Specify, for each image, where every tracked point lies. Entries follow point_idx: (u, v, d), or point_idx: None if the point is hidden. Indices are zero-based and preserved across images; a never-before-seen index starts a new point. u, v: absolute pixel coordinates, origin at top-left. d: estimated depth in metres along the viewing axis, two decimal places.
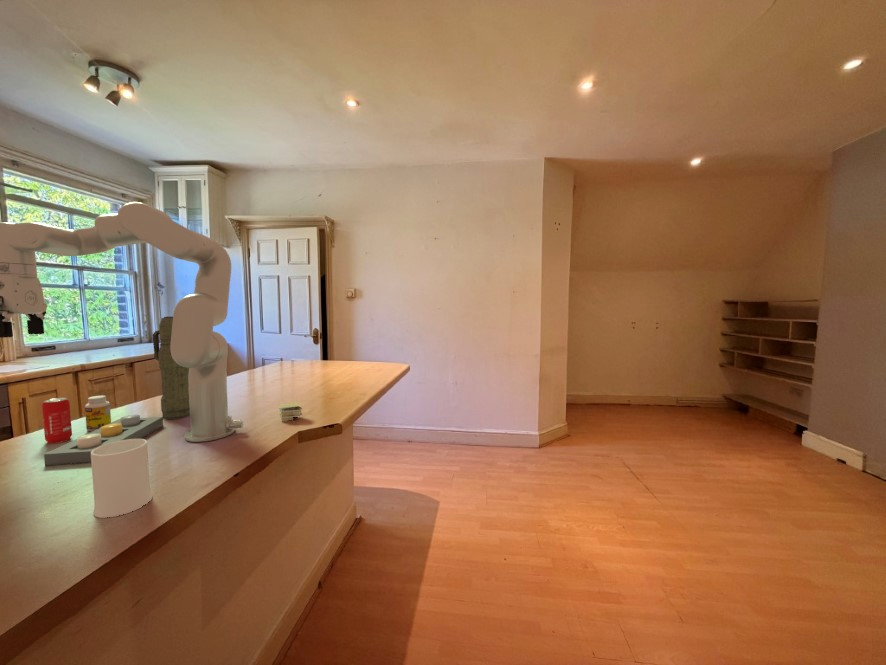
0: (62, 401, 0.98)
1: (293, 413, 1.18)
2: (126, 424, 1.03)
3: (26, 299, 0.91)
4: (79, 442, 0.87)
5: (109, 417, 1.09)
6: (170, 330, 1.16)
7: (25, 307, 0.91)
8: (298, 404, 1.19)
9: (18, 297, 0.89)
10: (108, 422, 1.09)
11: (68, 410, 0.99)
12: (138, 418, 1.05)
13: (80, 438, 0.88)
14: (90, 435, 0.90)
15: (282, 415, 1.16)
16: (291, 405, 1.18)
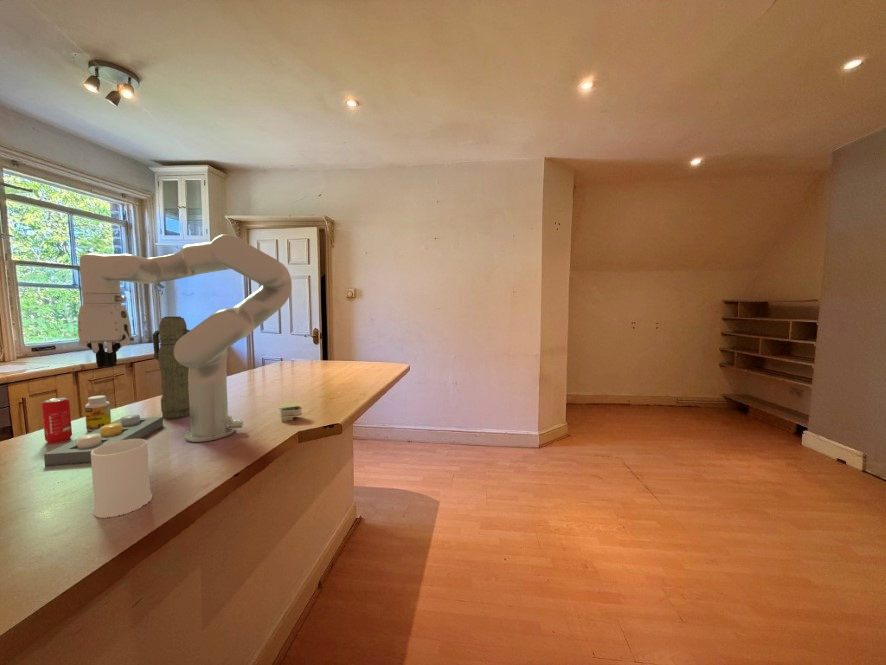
0: (62, 401, 0.98)
1: (293, 413, 1.18)
2: (126, 424, 1.03)
3: None
4: (79, 442, 0.87)
5: (109, 417, 1.09)
6: (170, 330, 1.16)
7: None
8: (298, 404, 1.19)
9: None
10: (108, 422, 1.09)
11: (68, 410, 0.99)
12: (138, 418, 1.05)
13: (80, 438, 0.88)
14: (90, 435, 0.90)
15: (282, 415, 1.17)
16: (291, 405, 1.18)
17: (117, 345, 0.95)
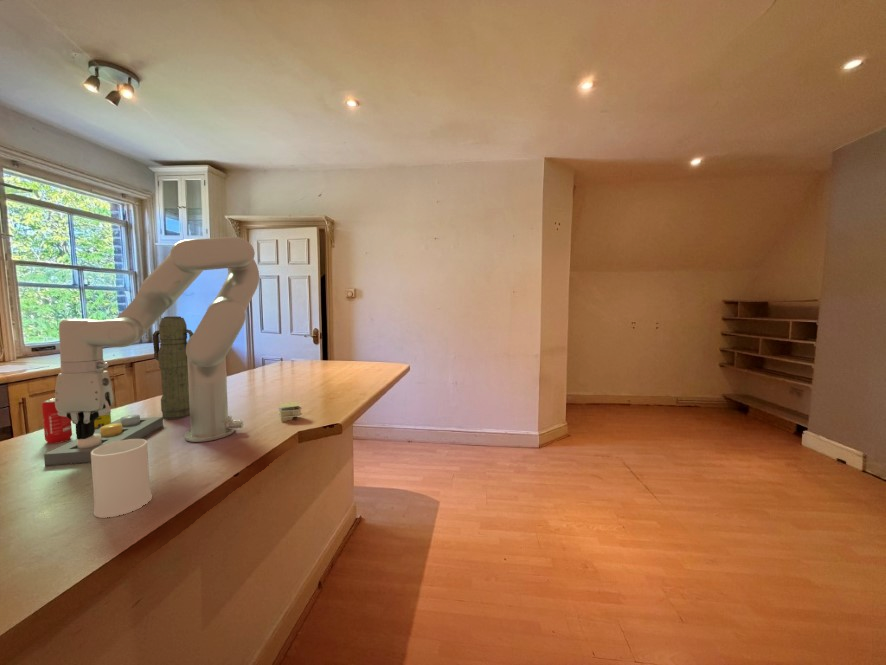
0: None
1: (292, 413, 1.18)
2: (126, 424, 1.03)
3: None
4: (79, 442, 0.87)
5: (109, 417, 1.09)
6: (170, 330, 1.16)
7: None
8: (297, 404, 1.19)
9: None
10: (108, 422, 1.09)
11: None
12: (138, 418, 1.05)
13: None
14: None
15: (281, 415, 1.17)
16: (291, 405, 1.18)
17: (95, 415, 0.88)
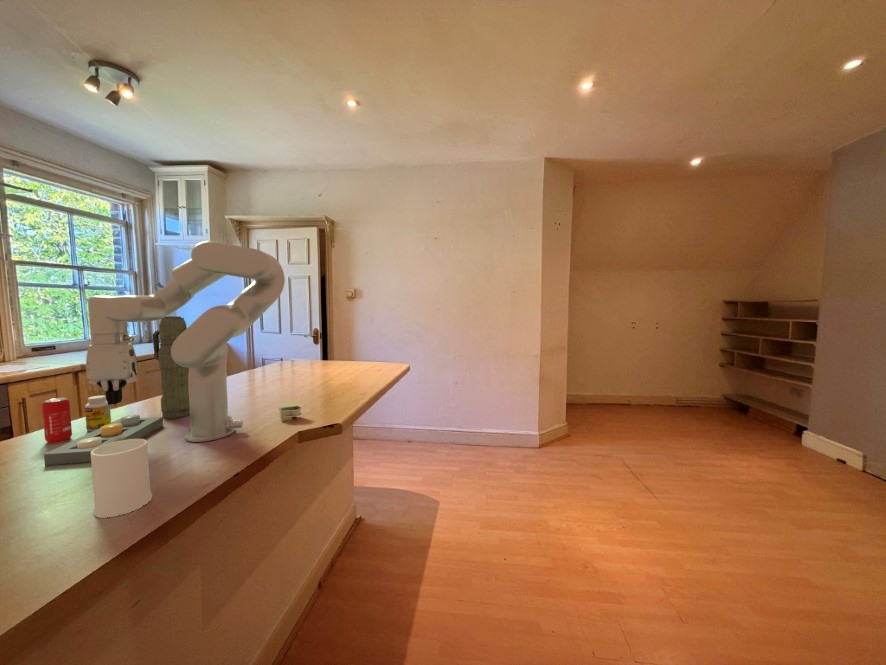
0: (62, 401, 0.98)
1: (292, 413, 1.18)
2: (126, 424, 1.03)
3: None
4: (79, 446, 0.87)
5: (109, 417, 1.09)
6: (170, 330, 1.16)
7: None
8: (297, 404, 1.19)
9: None
10: (108, 422, 1.09)
11: (68, 410, 0.99)
12: (138, 418, 1.05)
13: (80, 442, 0.88)
14: (91, 439, 0.90)
15: (281, 415, 1.17)
16: (290, 405, 1.18)
17: (123, 382, 0.98)
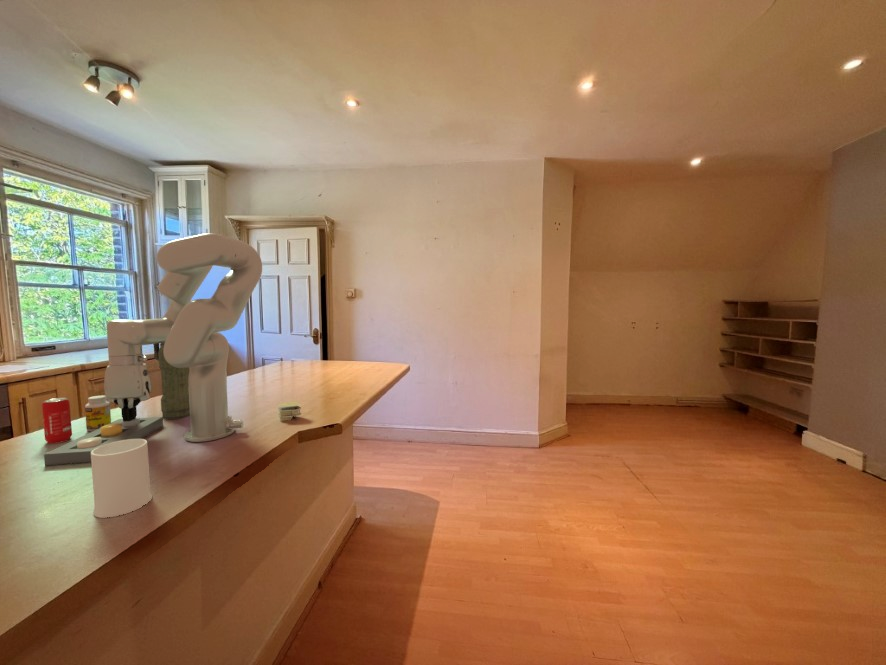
0: (62, 401, 0.98)
1: (292, 413, 1.18)
2: None
3: None
4: (79, 446, 0.87)
5: (109, 417, 1.09)
6: None
7: None
8: (297, 404, 1.20)
9: None
10: (108, 422, 1.09)
11: (68, 410, 0.99)
12: (138, 421, 1.06)
13: (80, 442, 0.88)
14: (91, 439, 0.90)
15: (281, 415, 1.17)
16: (290, 405, 1.18)
17: (137, 401, 1.04)
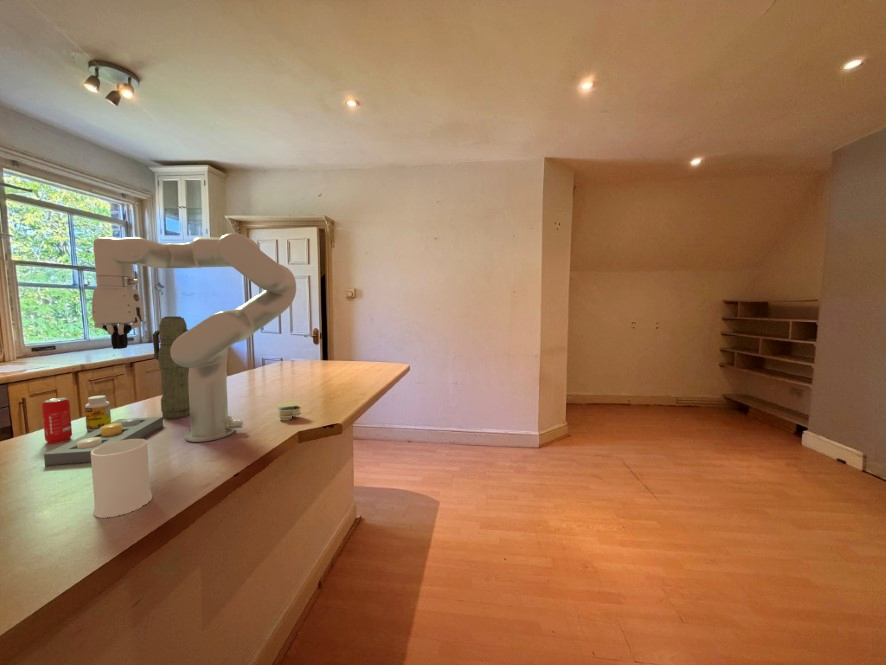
0: (62, 401, 0.98)
1: (292, 412, 1.18)
2: None
3: None
4: (79, 446, 0.87)
5: (109, 417, 1.09)
6: (170, 330, 1.16)
7: None
8: (297, 403, 1.20)
9: None
10: (108, 422, 1.09)
11: (68, 410, 0.99)
12: (138, 421, 1.06)
13: (80, 442, 0.88)
14: (91, 439, 0.90)
15: (281, 414, 1.17)
16: (290, 405, 1.18)
17: (128, 327, 0.97)
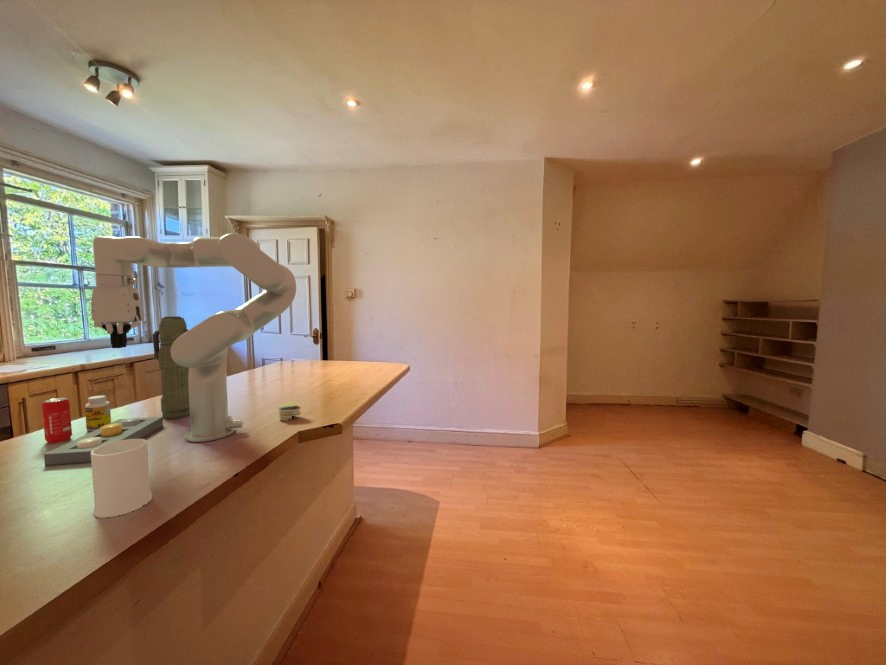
0: (62, 401, 0.98)
1: (292, 412, 1.18)
2: None
3: None
4: (79, 446, 0.87)
5: (109, 417, 1.09)
6: (170, 330, 1.16)
7: None
8: (296, 403, 1.20)
9: None
10: (108, 422, 1.09)
11: (68, 410, 0.99)
12: (138, 421, 1.06)
13: (80, 442, 0.88)
14: (91, 439, 0.90)
15: (281, 414, 1.17)
16: (290, 405, 1.18)
17: (127, 326, 0.97)
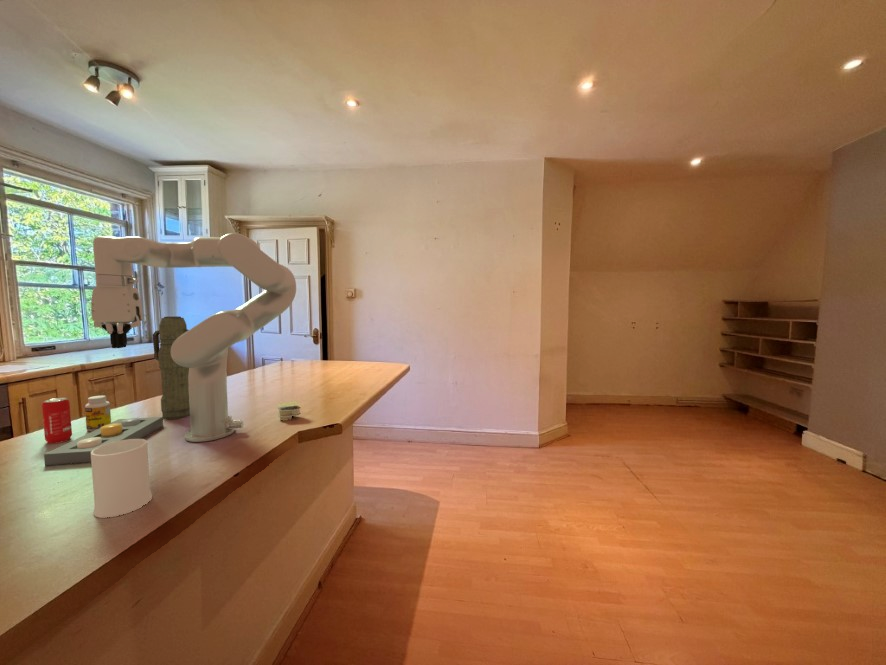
0: (62, 401, 0.98)
1: (291, 412, 1.18)
2: None
3: None
4: (79, 446, 0.87)
5: (109, 417, 1.09)
6: (170, 330, 1.16)
7: None
8: (296, 403, 1.20)
9: None
10: (108, 422, 1.09)
11: (68, 410, 0.99)
12: (138, 421, 1.06)
13: (80, 442, 0.88)
14: (91, 439, 0.90)
15: (281, 414, 1.17)
16: (290, 405, 1.18)
17: (127, 326, 0.97)
